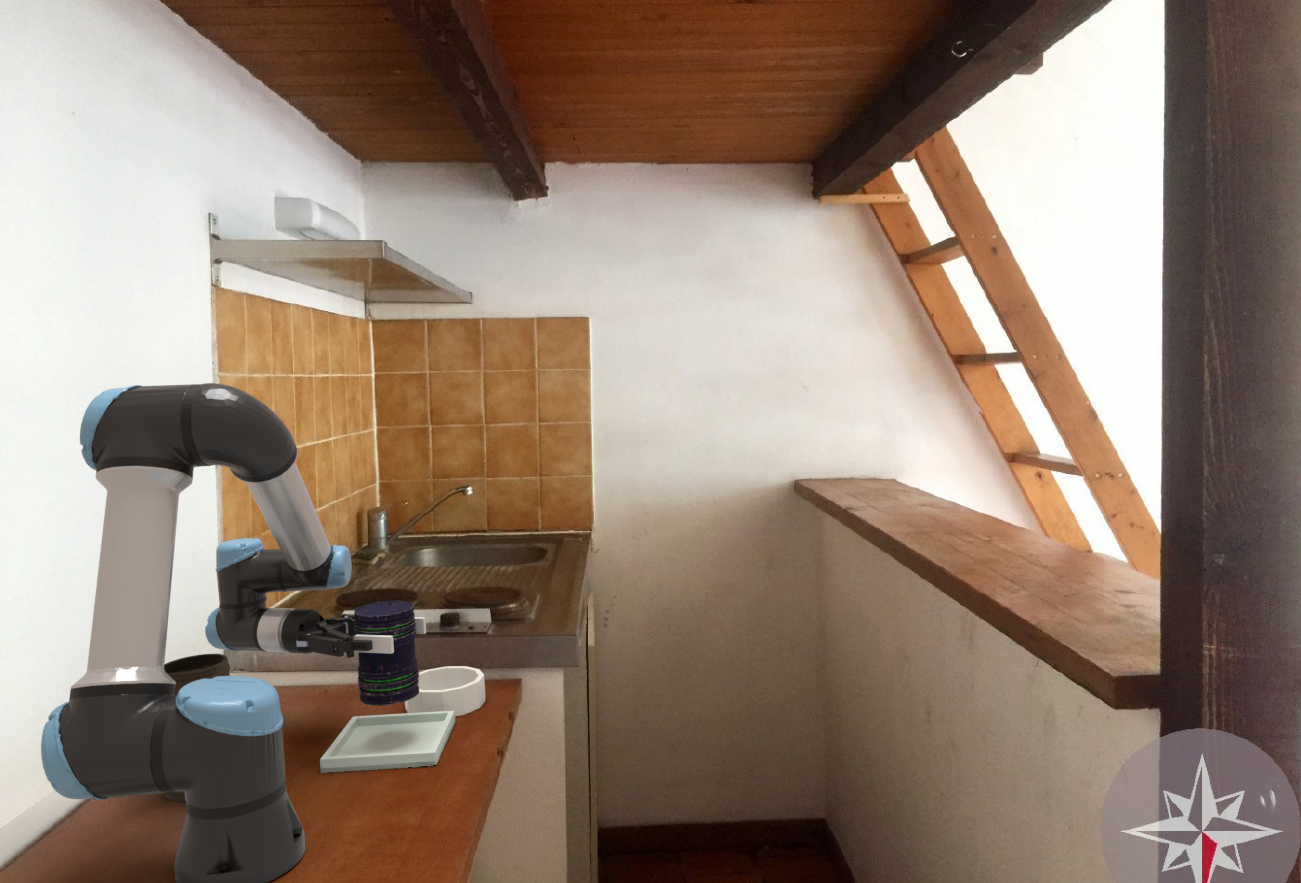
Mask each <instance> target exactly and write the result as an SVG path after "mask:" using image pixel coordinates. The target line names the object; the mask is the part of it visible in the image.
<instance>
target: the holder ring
mask: <svg viewBox="0 0 1301 883" xmlns="http://www.w3.org/2000/svg"><path fill="white" fill-rule="evenodd" d="M418 680H419V683H418V686H419V693H418V695H417V696H415V697H414V698H412V699H410V700H408V701H405V702H404V704H405V705H404V706H405V707H404V708H405V710H406V713H422V712H438V711H455V718H456V717H458V716H460V717H461V716H465V715H467V714H470V713H472V712H474V711H476V710H478V709H481V707H482V705H483V704H484V703H485V702H486V700H487V699H486V686H485V685H486V684H485V683H486V682H485V674H484V673H483V672H482V670H481V669H480V668H476V667H471V666H466V665H465V666H464V665H462V666H461V665H460V666H458V665H457V666H455V665H454V666H452V665H451V666H450V665H449V666H442V667H435V668H430V669H425V670H422V671H419V678H418Z"/></svg>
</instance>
